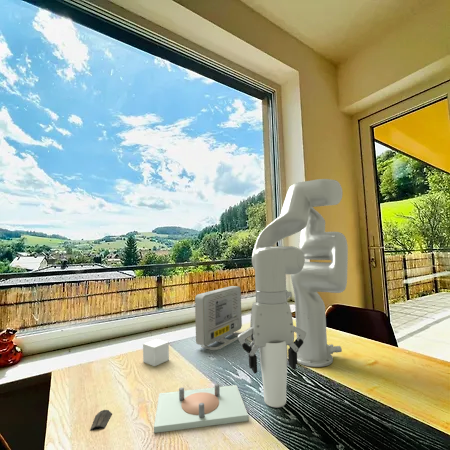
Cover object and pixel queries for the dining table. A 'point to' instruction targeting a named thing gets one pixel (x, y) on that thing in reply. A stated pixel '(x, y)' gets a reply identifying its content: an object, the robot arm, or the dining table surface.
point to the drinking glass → (274, 373)
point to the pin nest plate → (199, 408)
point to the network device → (218, 316)
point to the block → (101, 420)
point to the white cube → (155, 352)
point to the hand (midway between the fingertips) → (273, 369)
